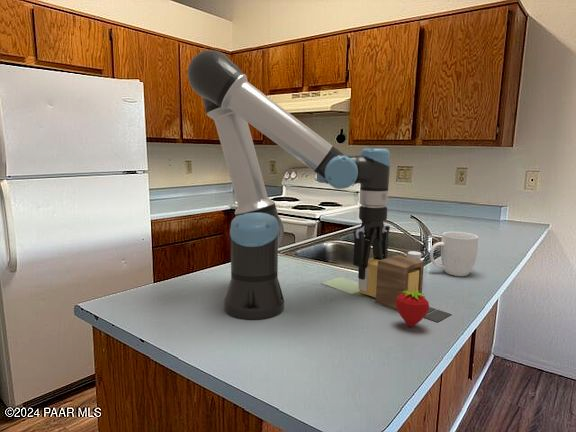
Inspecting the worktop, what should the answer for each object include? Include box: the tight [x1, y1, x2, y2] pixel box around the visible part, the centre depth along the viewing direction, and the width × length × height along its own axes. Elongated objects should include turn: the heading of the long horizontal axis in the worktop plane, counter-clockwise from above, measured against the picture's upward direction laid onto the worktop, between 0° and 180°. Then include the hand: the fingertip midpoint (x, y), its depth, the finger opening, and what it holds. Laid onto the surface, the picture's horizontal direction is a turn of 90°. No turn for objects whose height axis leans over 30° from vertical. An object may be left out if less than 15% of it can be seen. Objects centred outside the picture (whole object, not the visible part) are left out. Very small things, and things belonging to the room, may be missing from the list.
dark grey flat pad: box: [423, 306, 452, 323], centre depth 99 cm, size 7×8×1 cm
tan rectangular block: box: [358, 257, 419, 299], centre depth 108 cm, size 5×15×9 cm, turn 42°
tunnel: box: [375, 254, 425, 311], centre depth 105 cm, size 9×8×12 cm
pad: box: [320, 276, 360, 295], centre depth 119 cm, size 9×12×1 cm
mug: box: [429, 231, 479, 277], centre depth 131 cm, size 15×11×13 cm
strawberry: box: [395, 284, 430, 328], centre depth 91 cm, size 6×8×10 cm
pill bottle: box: [406, 250, 423, 261], centre depth 121 cm, size 6×5×10 cm
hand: (369, 287), depth 113 cm, fingers closed on tan rectangular block, 5 cm apart
